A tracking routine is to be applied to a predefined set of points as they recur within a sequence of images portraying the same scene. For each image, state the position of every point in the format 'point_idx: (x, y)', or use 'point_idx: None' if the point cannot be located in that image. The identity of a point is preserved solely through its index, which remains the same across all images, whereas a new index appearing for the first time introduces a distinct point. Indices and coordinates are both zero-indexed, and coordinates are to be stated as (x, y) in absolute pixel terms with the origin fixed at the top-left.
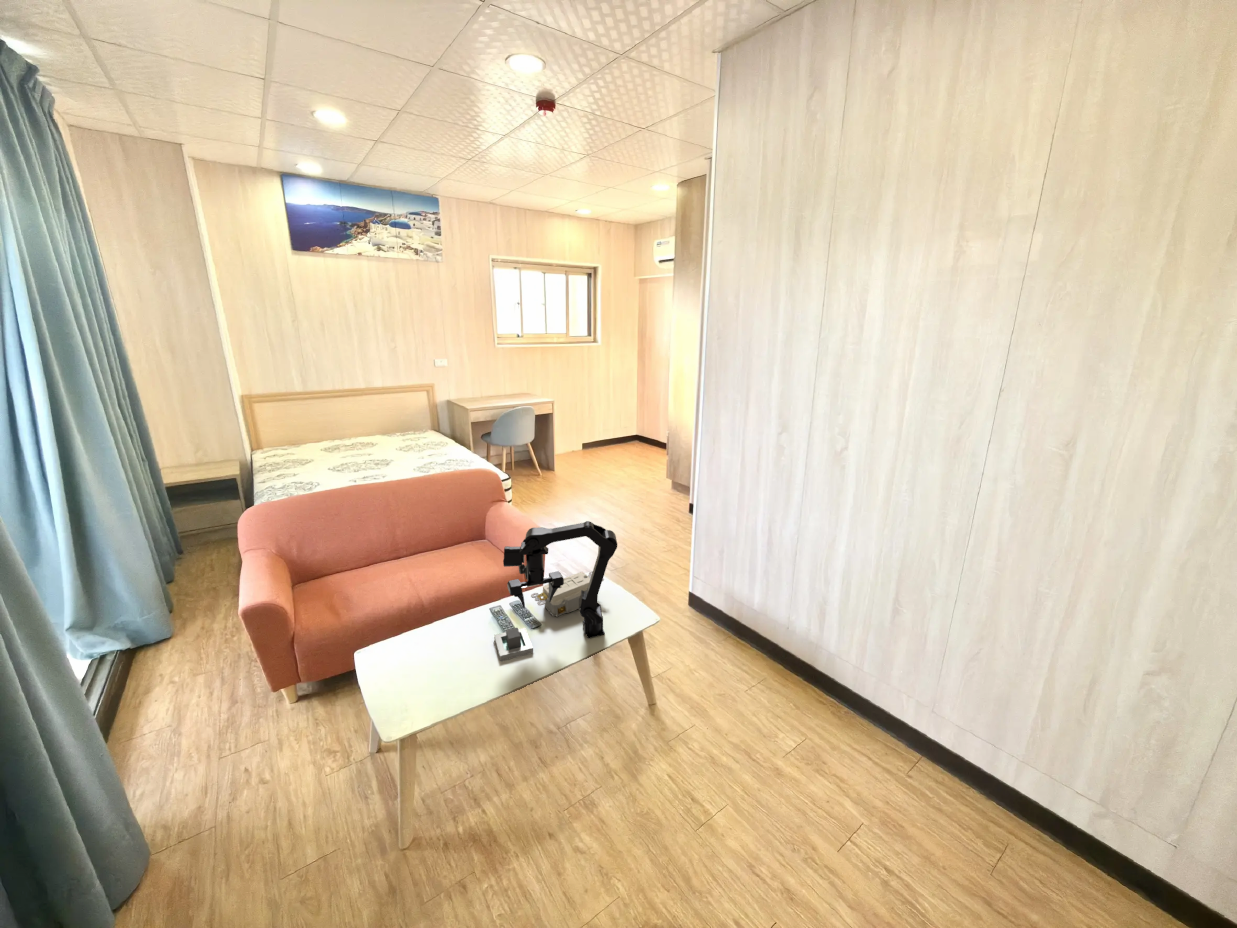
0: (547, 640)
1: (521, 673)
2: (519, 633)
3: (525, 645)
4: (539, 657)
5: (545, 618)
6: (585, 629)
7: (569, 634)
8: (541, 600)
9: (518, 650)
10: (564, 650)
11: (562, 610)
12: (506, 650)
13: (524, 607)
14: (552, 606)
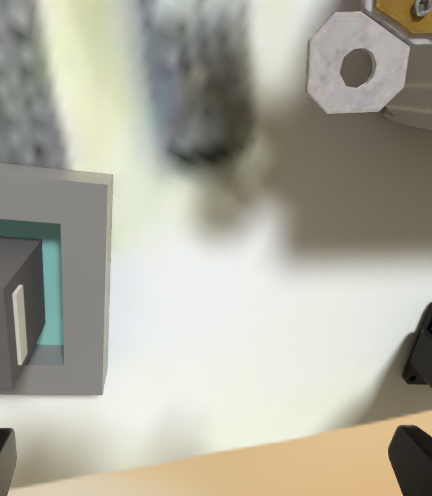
0: (217, 311)
1: None
2: (8, 362)
3: (65, 353)
4: (128, 408)
5: None
6: (429, 385)
7: (346, 313)
8: (382, 19)
9: None
10: (259, 406)
11: None
12: None
13: (11, 467)
14: (423, 95)
